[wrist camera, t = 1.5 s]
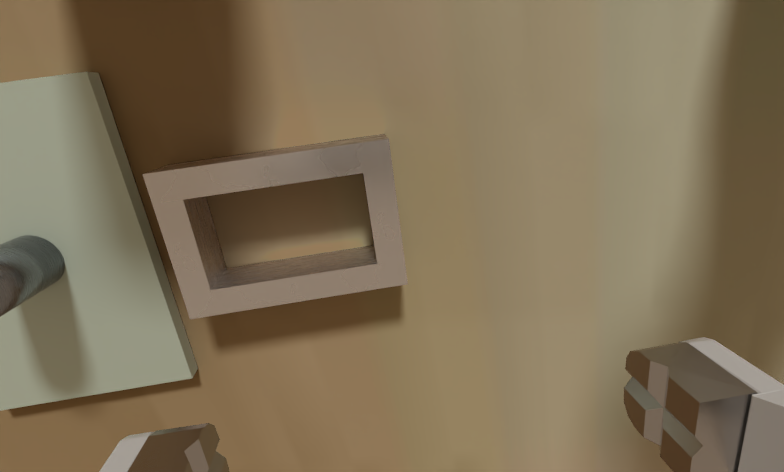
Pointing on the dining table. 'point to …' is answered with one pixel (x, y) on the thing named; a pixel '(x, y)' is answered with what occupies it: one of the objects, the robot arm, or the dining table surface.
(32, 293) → the post
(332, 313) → the dining table surface
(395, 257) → the rectangular frame
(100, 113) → the keeper plate
